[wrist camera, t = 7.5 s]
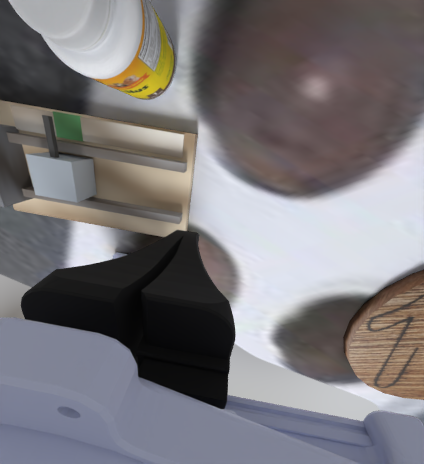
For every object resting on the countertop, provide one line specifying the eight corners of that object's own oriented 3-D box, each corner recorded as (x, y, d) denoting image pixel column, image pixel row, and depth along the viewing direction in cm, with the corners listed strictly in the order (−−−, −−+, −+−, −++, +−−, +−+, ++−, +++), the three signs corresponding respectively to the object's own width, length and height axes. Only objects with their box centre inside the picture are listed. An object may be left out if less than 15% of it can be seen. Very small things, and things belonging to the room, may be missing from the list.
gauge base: (186, 236, 23) (177, 256, 19) (24, 206, 24) (-19, 220, 20) (197, 134, 19) (188, 133, 15) (-7, 99, 19) (-71, 88, 15)
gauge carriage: (96, 194, 21) (77, 202, 18) (60, 187, 21) (35, 194, 18) (88, 121, 18) (64, 119, 15) (46, 114, 18) (14, 110, 15)
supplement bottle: (111, 89, 18) (-20, 35, 8) (116, 6, 15) (-57, -195, 6) (170, 110, 18) (107, 80, 9) (185, 32, 16) (119, -121, 6)
